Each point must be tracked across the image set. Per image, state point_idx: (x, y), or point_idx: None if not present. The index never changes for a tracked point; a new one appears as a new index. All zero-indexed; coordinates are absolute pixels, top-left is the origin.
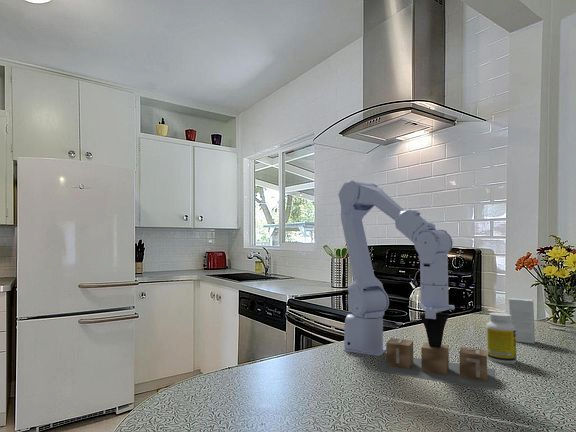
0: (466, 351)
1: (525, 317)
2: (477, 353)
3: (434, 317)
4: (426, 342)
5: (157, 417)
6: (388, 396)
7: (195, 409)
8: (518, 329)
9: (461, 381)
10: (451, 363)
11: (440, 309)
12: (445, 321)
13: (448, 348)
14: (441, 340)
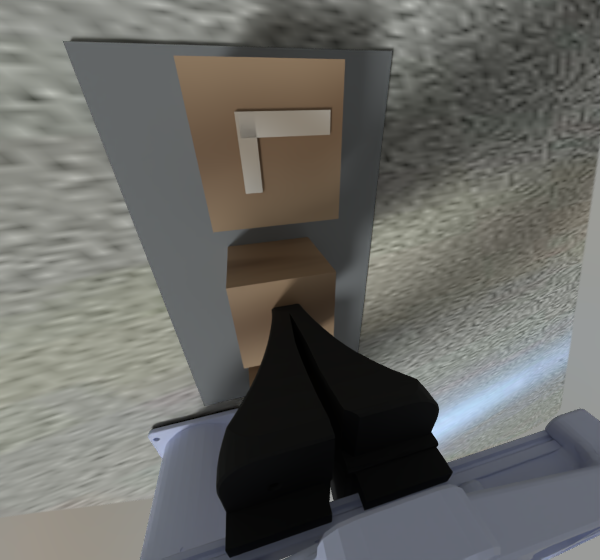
0: (301, 189)
1: None
2: (331, 122)
3: (592, 422)
4: (243, 363)
5: (544, 413)
6: (474, 299)
7: (529, 409)
8: None
9: (346, 185)
10: (151, 252)
11: (590, 498)
12: (417, 380)
13: (229, 280)
14: (310, 317)
